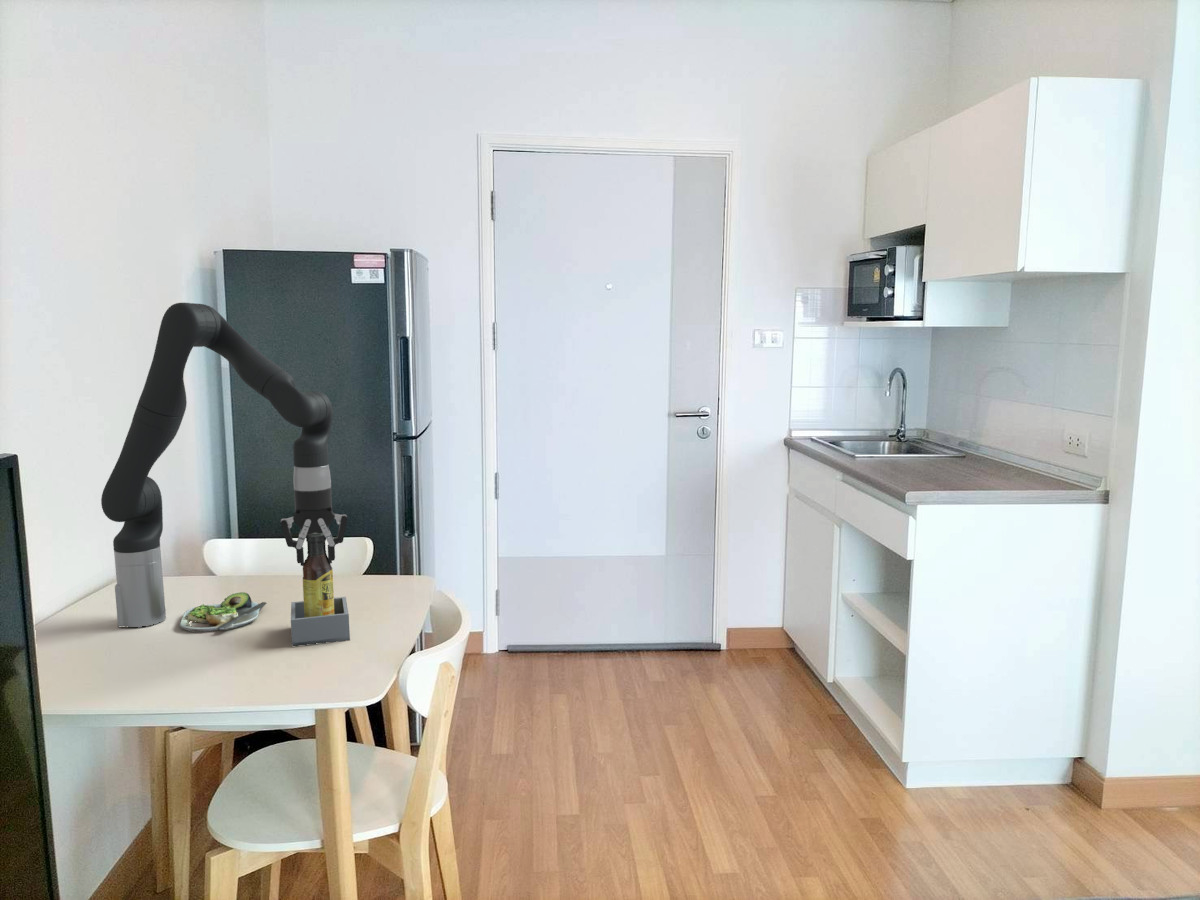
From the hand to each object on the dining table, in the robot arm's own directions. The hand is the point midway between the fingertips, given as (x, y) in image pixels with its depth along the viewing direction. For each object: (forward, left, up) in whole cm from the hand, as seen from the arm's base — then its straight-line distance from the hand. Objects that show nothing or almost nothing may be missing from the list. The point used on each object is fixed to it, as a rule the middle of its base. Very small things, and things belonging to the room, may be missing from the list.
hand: (316, 563), depth 186 cm
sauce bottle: (0, 0, -14) cm, 14 cm away
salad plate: (-21, +18, -16) cm, 32 cm away
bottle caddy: (0, 0, -16) cm, 16 cm away
